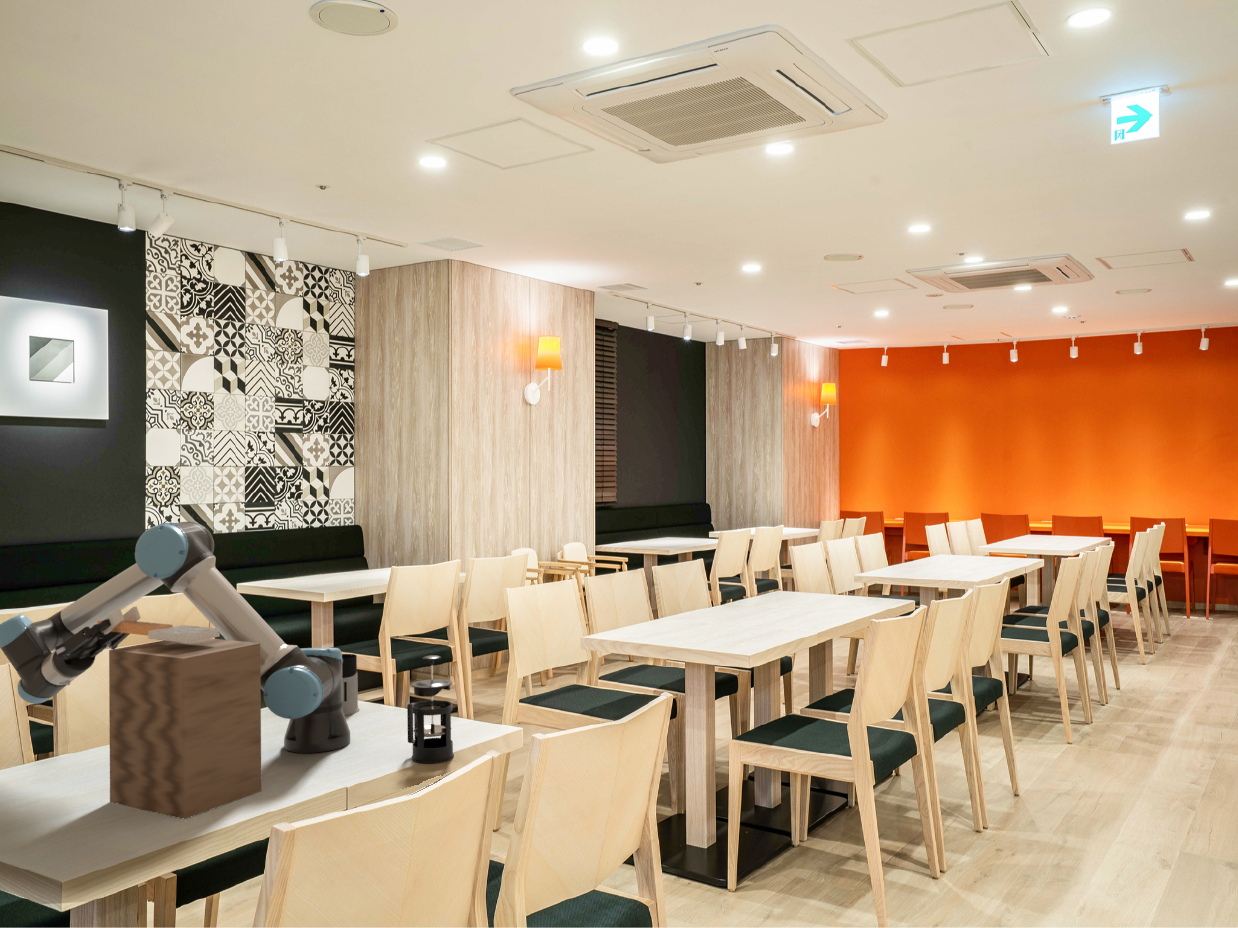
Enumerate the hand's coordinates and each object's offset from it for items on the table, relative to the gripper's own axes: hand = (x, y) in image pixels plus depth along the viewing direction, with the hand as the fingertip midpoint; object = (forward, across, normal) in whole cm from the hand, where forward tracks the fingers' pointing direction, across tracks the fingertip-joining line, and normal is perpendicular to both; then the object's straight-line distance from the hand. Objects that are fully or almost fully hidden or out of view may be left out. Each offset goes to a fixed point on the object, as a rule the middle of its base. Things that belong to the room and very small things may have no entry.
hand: (128, 613), depth 200 cm
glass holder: (-20, -64, -30) cm, 73 cm away
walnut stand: (-2, 0, -40) cm, 40 cm away
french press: (+22, -42, -54) cm, 72 cm away
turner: (+4, 0, -7) cm, 8 cm away
